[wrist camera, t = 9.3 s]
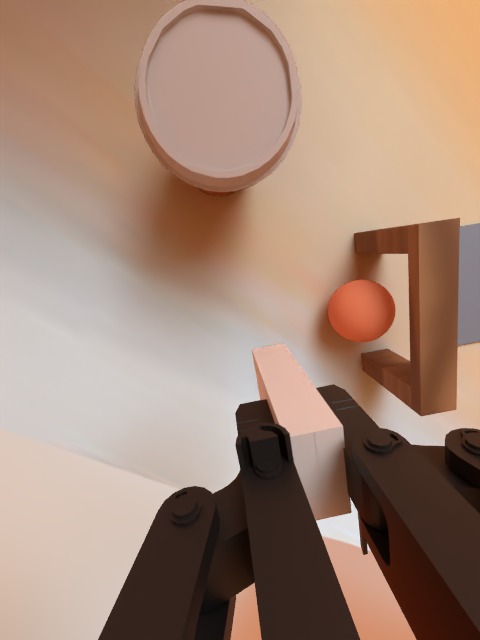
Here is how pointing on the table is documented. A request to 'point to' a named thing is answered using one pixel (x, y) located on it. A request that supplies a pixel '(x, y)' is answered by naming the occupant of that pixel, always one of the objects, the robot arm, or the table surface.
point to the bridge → (422, 315)
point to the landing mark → (469, 285)
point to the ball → (361, 310)
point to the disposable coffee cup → (218, 94)
